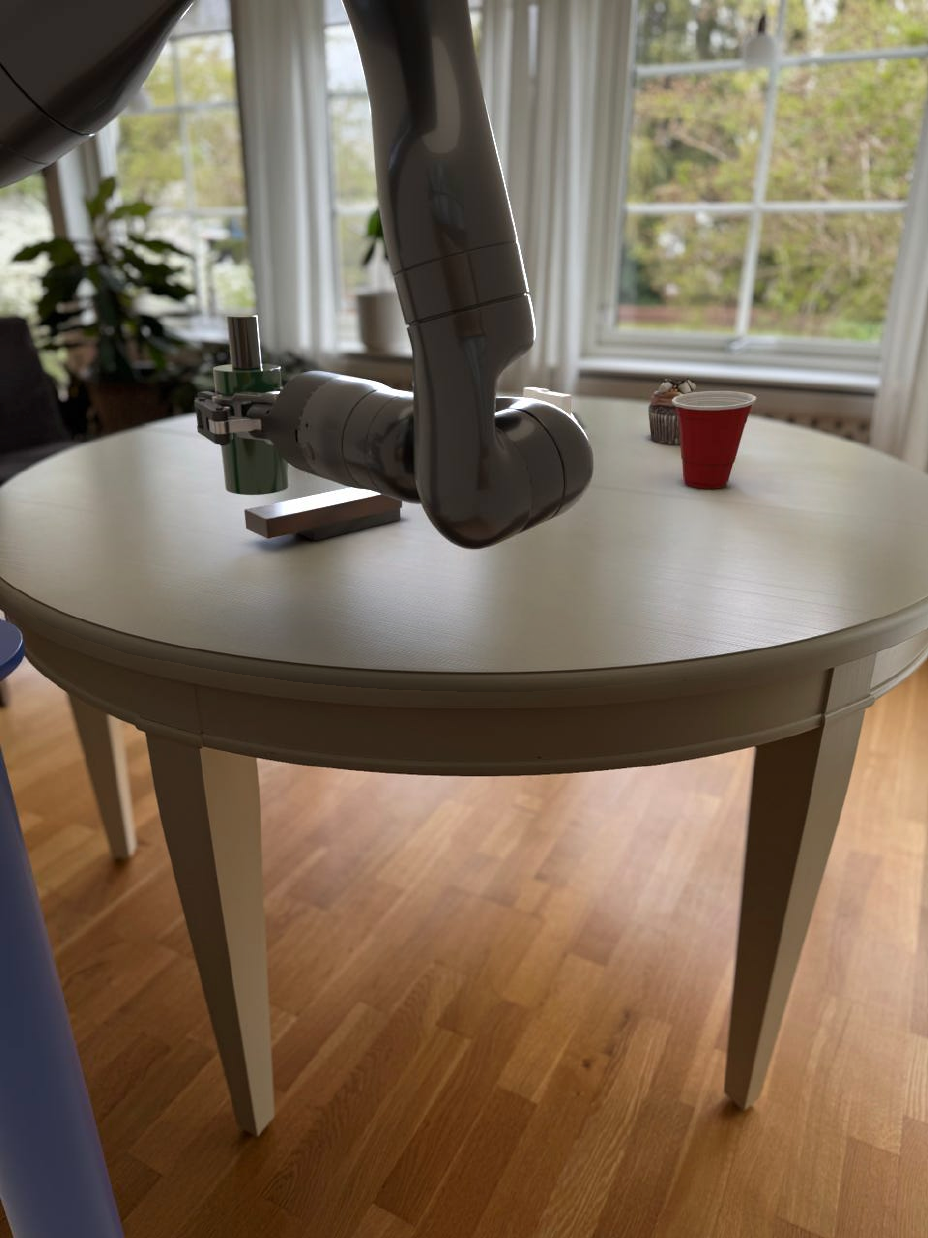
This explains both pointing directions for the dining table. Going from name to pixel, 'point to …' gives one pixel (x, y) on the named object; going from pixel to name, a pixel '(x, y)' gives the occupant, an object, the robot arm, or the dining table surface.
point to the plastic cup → (711, 434)
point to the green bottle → (248, 459)
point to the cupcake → (667, 410)
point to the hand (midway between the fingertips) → (235, 400)
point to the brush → (323, 514)
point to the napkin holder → (550, 398)
